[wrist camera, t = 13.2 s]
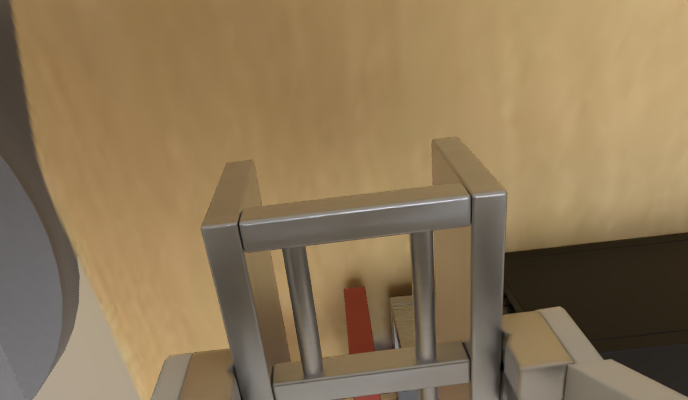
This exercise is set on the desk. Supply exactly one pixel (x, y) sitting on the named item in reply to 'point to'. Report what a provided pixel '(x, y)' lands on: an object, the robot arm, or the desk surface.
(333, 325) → the desk surface
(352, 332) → the drawer
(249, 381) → the rack
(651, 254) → the black drawer cabinet
